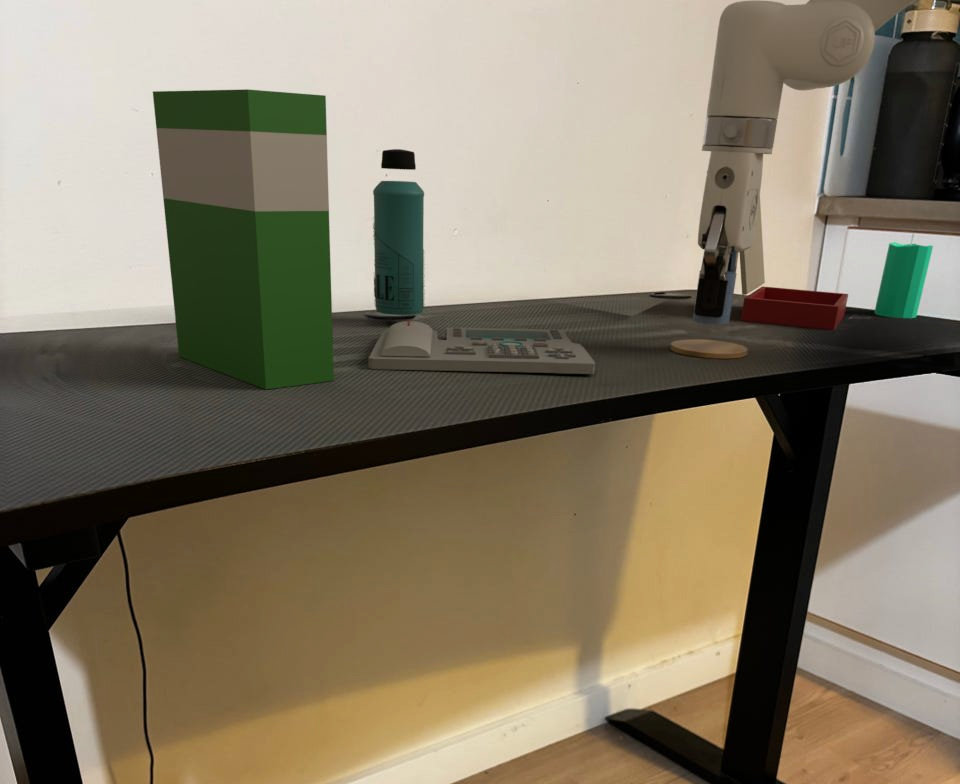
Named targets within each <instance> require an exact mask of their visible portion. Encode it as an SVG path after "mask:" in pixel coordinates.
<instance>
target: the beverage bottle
mask: <svg viewBox="0 0 960 784" xmlns="http://www.w3.org/2000/svg"><path fill="white" fill-rule="evenodd" d="M416 166H417V165H416V155H415V152H414V151H411V150H407V149H400V148H394V149H393V148H392V149H384V150H382V152H381V162H380V168H381V169H386V170H404V171H405V170H406V171H407V170H408V171H409V170H411V171H412V170H413V171H414V170H416V169H417V168H416ZM372 194H373V219H372V220H373V221H372V222H373V224H372V229H373V230H372V233H373V235H372V238H373V245H374V246H373V247H374V250H373V251H374V260H373V261H374V263H373V264H374V276H373V297H374V304H373V305H374V306H375V310H376V312H377V313H380V314H384V315H392V316H393V315H394V316H395V315H396V316H411V315H412V316H414V315H418V314H419V315H420V314H422V313H423V311H424V307H425V300H426V298H425V295H426V290H425V286H426V285H425V283H426V280H425V278H426V276H425V275H426V274H425V260H426V258H425V254H426V253H425V250H424V205H425V204H424V202H425V201H424V199H425V191H424V190H423V188H422V187H421V186H420V185H419V184H418V182H416V181H410V180H409V181H407V180H381V181H380V182H379V183H377V185H376V186H375V187H374V188H373V190H372Z"/></svg>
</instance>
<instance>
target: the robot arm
mask: <svg viewBox="0 0 960 784" xmlns="http://www.w3.org/2000/svg"><path fill="white" fill-rule="evenodd" d="M917 1H918V0H808V1H807V2H806V3H801V4H784V3H783V2H778V1H772V0H742V1H736V2H733V3H730V4H728V5H727V6H726V7H725V8H724V9H723V10H722V13H721V14H720V17H719V22H718V26H717V35H716V42H715V49H714V56H713V57H714V58H713V65H712V66H713V67H712V73H711V80H710V87H709V94H708V100H707V101H708V102H707V109H706V117H705V123H704V131H703V137H702V146H701V151H702V152H710V156H709V159H708V166H707V170H706V178H705V183H704V189H703V195H702V202H701V209H700V215H699V223H698V233H697V245H698V246H699V248H701V250H703V256H702V261H701V267H700V270H701V272H700V271H699V272H700V278H699V277H698V279H699V282H698V281H697V286H698V289H697V288H696V293H697V297H696V296H695V300H696V304H695V303H694V308H695V311H694V310H693V314H694V313H695V315H698V316H707V317H716V318H719V317H721V316H722V315H723V310H724V304H725V297H726V291H727V284H728V281H727V280H725V279H726V274H727V271H730V272H735V273H737V268H738V259H739V254H740V253H739V252H741V251H744V250H746V249H748V248H750V247H751V246H752V245H753V242H754V236H755V228H756V220H757V212H758V204H759V197H760V198H761V188H762V179H763V166H764V155H772V154H773V151H774V150H773V148H774V144H775V143H774V142H775V138H776V130H777V125H778V119H779V112H780V107H781V100H782V95H783V89H784V85H786V86H787V87H789V88H790V89H793V90H795V91H812V90H817V89H825V88H831V87H835V86H839V85H842V84H844V83H846V82H848V81H850V80H851V79H853V78H854V77H855V76H856V75H858V74H859V73H860V72H861V71H862V70H863V69H864V67H865V66H866V64H867V63H868V61H869V60H870V59H871V58H870V57H871V55H872V53H873V51H874V46H875V42H876V41H875V40H876V32H877V31H879V29H880V28H882V27H883V26H885V24H887V23H888V22H889V21H890V20H892V19H893V18H894V17H895V16H896V15H897V14H899V13H901V12H902V11H903V10H905V9H906V8H907V7H909V6H910V5H912V4H913V3H915V2H917Z"/></svg>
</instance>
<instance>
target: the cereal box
mask: <svg viewBox="0 0 960 784" xmlns="http://www.w3.org/2000/svg"><path fill="white" fill-rule="evenodd" d="M152 98H153V99H152V100H153V108H154V118H155V128H156V138H157V148H158V157H159V158H158V160H159V169H160V170H159V171H160V179H161V180H160V181H161V189H162V198H163V199H162V200H163V209H164V218H165V219H164V220H165V229H166V239H167V249H168V260H169V269H170V279H171V289H172V298H173V310H174V318H175V329H176V339H177V347H178V348H177V349H178V357H179V358H182V359H185V360H187V361H190V362H192V363H195V364H198V365H200V366H203V367H205V368H208V369H211V370H212V371H213V370H214V371H216V372H219V373H222V374H224V375H227V376H228V377H229V376H230V377H232V378H235V379H237V380H240V381H242V382H244V383H247V384H250V385H252V386H256V387H259V388H261V389H264V390H272V389H280V388H287V387H296V386H303V385H311V384H319V383H326V382H334V381H335V376H334V375H335V374H334V373H335V371H334V340H333V339H334V337H333V305H332V301H333V300H332V271H331V235H330V234H331V233H330V231H331V230H330V199H329V196H330V195H329V167H328V132H327V128H328V127H327V95H325V94H324V95H323V94H311V93H298V92H288V91H287V92H286V91H275V90H274V91H273V90H260V89H250V88H249V89H247V88H246V89H207V90H206V89H203V90H160V91H155V90H154V91H153V90H152Z"/></svg>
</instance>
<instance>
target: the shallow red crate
mask: <svg viewBox="0 0 960 784" xmlns="http://www.w3.org/2000/svg"><path fill="white" fill-rule="evenodd" d="M848 298H849V294H848V293H844V292H843V293H842V292H832V291H831V292H830V291H819V290H809V289H796V288H787V287H785V288H783V287H772V286H762V285H761V286H760V287H758V288H757V289H755V290H753V291H752V292H750V294H747V296H745V297H744V298H743V304H742V310H741V316H740V322H747V323H756V324H757V323H758V324H759V323H760V324H766V325H775V326H786V327H796V328H806V329H816V330H827V331H835V330H836V328H837V327H838V325H839V324H840V322H841V321H842V320H843V318H844V315H845V313H846V307H847V303H848Z"/></svg>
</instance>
